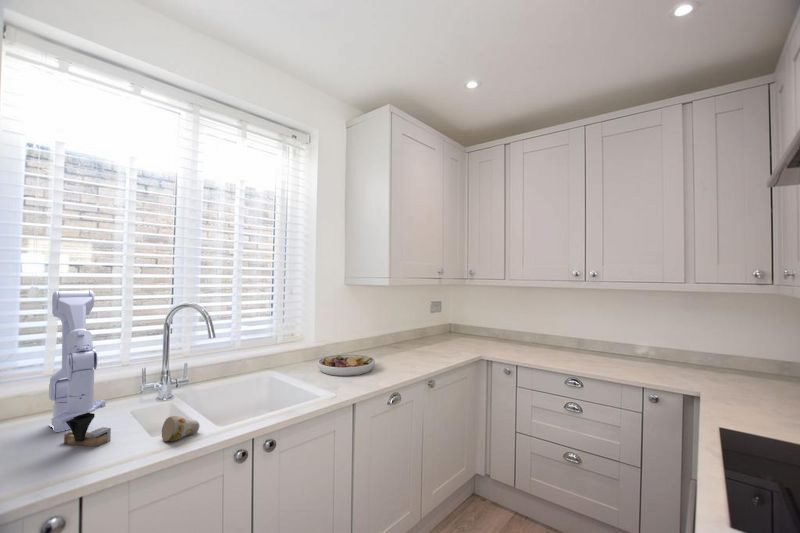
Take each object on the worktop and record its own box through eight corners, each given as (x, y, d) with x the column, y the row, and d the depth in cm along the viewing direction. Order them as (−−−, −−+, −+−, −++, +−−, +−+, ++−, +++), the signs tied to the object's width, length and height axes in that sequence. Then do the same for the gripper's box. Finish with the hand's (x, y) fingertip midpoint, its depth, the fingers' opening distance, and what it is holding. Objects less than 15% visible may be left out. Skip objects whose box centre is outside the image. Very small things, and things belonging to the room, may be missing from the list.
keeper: (85, 447, 106) (86, 433, 106) (102, 440, 110) (102, 427, 111) (94, 448, 105) (94, 434, 105) (110, 441, 110) (110, 427, 110)
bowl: (327, 362, 211) (327, 348, 211) (379, 364, 208) (379, 350, 208) (309, 376, 181) (309, 360, 181) (369, 379, 178) (369, 362, 179)
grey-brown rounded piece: (206, 434, 116) (194, 412, 111) (174, 457, 110) (160, 435, 105) (196, 422, 121) (185, 400, 116) (165, 443, 115) (151, 421, 110)
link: (61, 443, 108) (61, 433, 108) (71, 439, 111) (71, 428, 111) (97, 446, 106) (97, 436, 106) (107, 441, 109) (107, 431, 109)
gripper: (69, 402, 99) (67, 453, 99) (115, 386, 113) (114, 430, 113) (45, 401, 100) (43, 452, 99) (94, 385, 114) (92, 429, 114)
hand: (79, 441), depth 106 cm, fingers closed
